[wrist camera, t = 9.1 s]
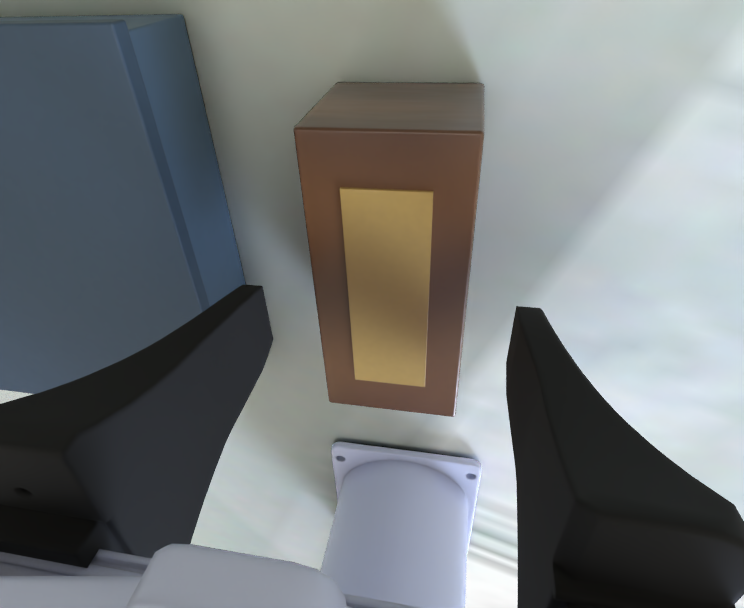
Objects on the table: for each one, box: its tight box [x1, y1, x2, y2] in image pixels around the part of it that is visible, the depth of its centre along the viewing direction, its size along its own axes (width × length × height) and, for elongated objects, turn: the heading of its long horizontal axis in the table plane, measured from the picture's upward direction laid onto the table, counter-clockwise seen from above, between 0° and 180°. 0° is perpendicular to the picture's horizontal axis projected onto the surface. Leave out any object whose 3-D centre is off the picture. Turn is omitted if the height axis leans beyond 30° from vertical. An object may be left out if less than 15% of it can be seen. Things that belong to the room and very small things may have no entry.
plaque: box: [294, 82, 484, 417], centre depth 16 cm, size 10×5×5 cm, turn 2°
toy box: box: [0, 14, 246, 394], centre depth 19 cm, size 15×15×4 cm
